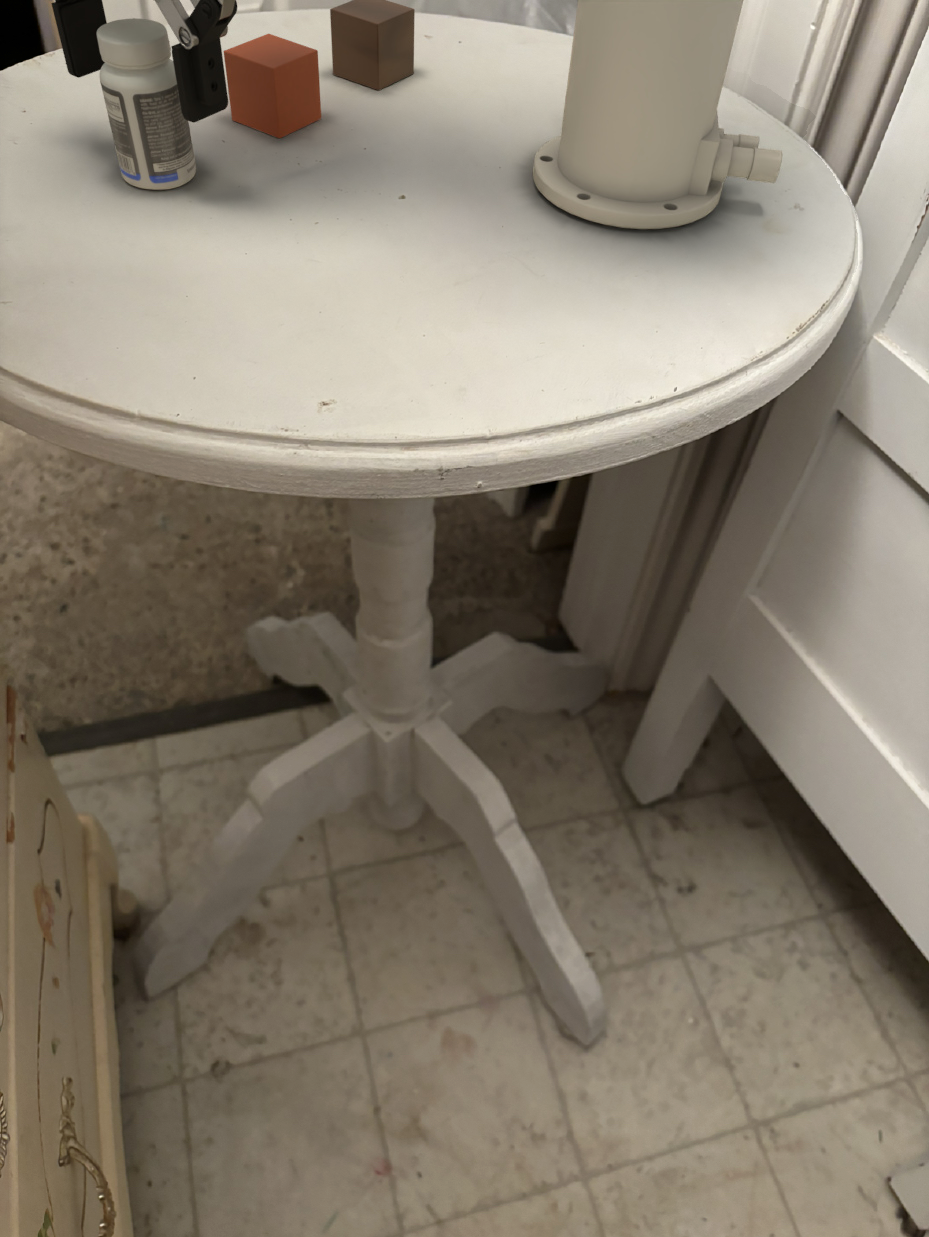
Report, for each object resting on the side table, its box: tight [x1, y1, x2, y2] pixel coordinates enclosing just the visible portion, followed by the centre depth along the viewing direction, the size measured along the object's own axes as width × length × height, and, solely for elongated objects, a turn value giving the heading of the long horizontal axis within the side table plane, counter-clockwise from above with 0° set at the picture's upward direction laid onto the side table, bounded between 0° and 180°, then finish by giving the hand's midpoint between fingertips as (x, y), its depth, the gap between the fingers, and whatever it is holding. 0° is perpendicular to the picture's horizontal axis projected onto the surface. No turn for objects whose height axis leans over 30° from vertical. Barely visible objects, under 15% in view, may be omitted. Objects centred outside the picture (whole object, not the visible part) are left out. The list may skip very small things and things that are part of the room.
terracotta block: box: [223, 33, 322, 139], centre depth 66 cm, size 4×4×4 cm
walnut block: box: [329, 0, 416, 91], centre depth 73 cm, size 4×4×4 cm
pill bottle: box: [97, 17, 197, 191], centre depth 59 cm, size 5×5×8 cm
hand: (148, 92), depth 58 cm, fingers open, 9 cm apart
